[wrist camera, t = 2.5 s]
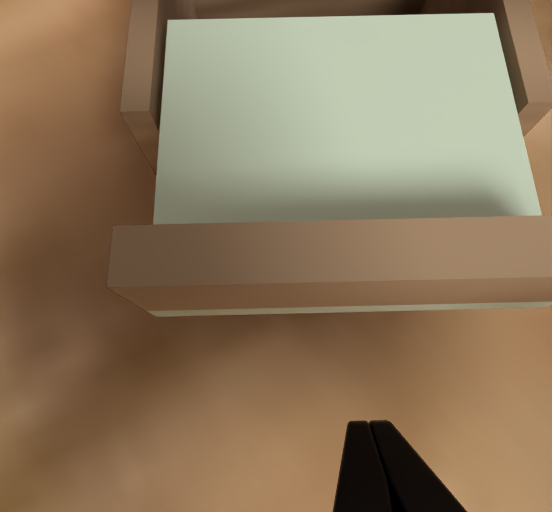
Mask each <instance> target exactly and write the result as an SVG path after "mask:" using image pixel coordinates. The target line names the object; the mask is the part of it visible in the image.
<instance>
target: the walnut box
mask: <svg viewBox="0 0 552 512" xmlns="http://www.w3.org/2000/svg"><path fill="white" fill-rule="evenodd" d="M469 13H494V16H495V20H496V24H497V29H498V33H499V37H500V41H501V45H502V50H503V54H504V58H505V62H506V67H507V71H508V75H509V79H510V83H511V88H512V92H513V96H514V100H515V104H516V109H517V113H518V117H519V121H520V125H521V130H522V134H523V137H524V136H525V135H526V134H527V133H528V132H529V131H530V130H531V129H532V128H533V127H534V126H535V125H536V124H537V123H538V122H539V121H540V120H541V119H542V118H543V117H544V116H545V114H546V113H547V112H548V111H549V110H550V109H551V108H552V79H551V76H550V72H549V68H548V65H547V61H546V58H545V54H544V50H543V47H542V43H541V39H540V36H539V32H538V29H537V25H536V21H535V18H534V14H533V10H532V7H531V3H530V0H132V3H131V13H130V22H129V31H128V40H127V49H126V59H125V68H124V77H123V86H122V95H121V105H120V113H121V115H122V117H123V118H124V120H125V122H126V124H127V125H128V127H129V129H130V131H131V132H132V134H133V136H134V138H135V139H136V141H137V143H138V145H139V146H140V148H141V150H142V152H143V153H144V155H145V157H146V159H147V160H148V162H149V164H150V166H151V167H152V169H153V171H154V173H155V174H156V175H157V161H158V147H159V134H160V120H161V106H162V92H163V79H164V65H165V51H166V37H167V24H168V20H189V19H236V18H283V17H329V16H376V15H423V14H469Z"/></svg>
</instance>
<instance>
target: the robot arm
mask: <svg viewBox="0 0 552 512" xmlns="http://www.w3.org/2000/svg"><path fill="white" fill-rule="evenodd" d="M333 512H467V511H466V510H465V509H464V507H463V506H462V505H461V504H460V503H459V502H458V500H457V499H456V498H455V497H454V496H453V495H452V493H451V492H450V491H449V490H448V489H447V488H446V486H445V485H444V484H443V483H442V482H441V480H440V479H439V478H438V477H437V476H436V475H435V473H434V472H433V471H432V470H431V469H430V468H429V466H428V465H427V464H426V463H425V462H424V460H423V459H422V458H421V457H420V456H419V455H418V453H417V452H416V451H415V450H414V449H413V448H412V446H411V445H410V444H409V443H408V442H407V441H406V439H405V438H404V437H403V436H402V435H401V433H400V432H399V431H398V430H397V429H396V428H395V426H394V425H393V424H392V423H391V422H390V421H387V420H373V421H370V422H369V423H368V422H367V421H350V422H348V425H347V430H346V436H345V442H344V448H343V454H342V460H341V465H340V471H339V477H338V483H337V489H336V495H335V501H334V507H333Z"/></svg>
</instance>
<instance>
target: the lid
mask: <svg viewBox="0 0 552 512" xmlns="http://www.w3.org/2000/svg"><path fill="white" fill-rule="evenodd" d="M107 288H108V289H110V290H112V291H114V292H115V293H117V294H119V295H120V296H122V297H124V298H125V299H127V300H129V301H130V302H132V303H134V304H135V305H137V306H139V307H141V308H142V309H144V310H146V311H147V312H149V313H151V314H152V315H154V316H156V317H167V316H209V315H251V314H293V313H335V312H377V311H419V310H461V309H503V308H542V307H545V306H548V305H552V215H542V214H541V210H540V205H539V201H538V197H537V193H536V189H535V184H534V180H533V176H532V172H531V168H530V163H529V159H528V155H527V151H526V146H525V142H524V138H523V134H522V130H521V125H520V121H519V117H518V113H517V109H516V104H515V100H514V96H513V92H512V88H511V83H510V79H509V75H508V71H507V67H506V62H505V58H504V54H503V50H502V45H501V41H500V37H499V33H498V29H497V24H496V20H495V16H494V13H469V14H423V15H376V16H329V17H283V18H236V19H189V20H168V24H167V37H166V51H165V65H164V79H163V92H162V106H161V120H160V134H159V147H158V161H157V175H156V189H155V202H154V216H153V224H149V225H113V229H112V239H111V248H110V258H109V267H108V277H107Z"/></svg>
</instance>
